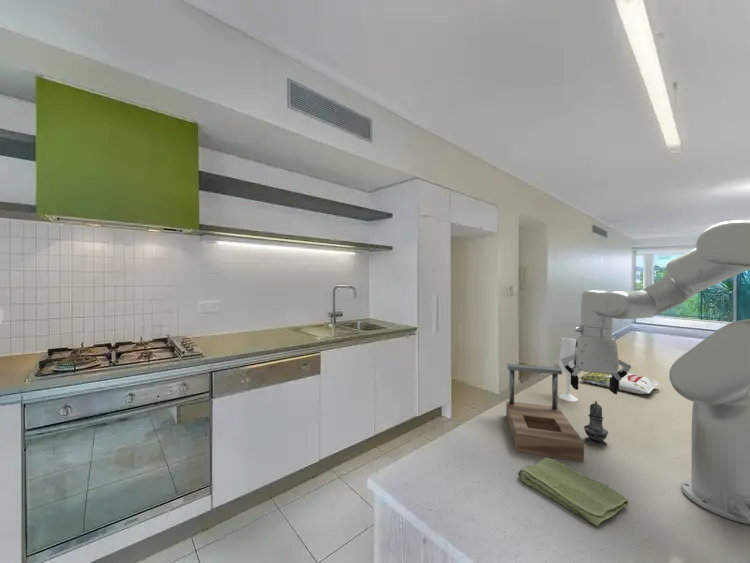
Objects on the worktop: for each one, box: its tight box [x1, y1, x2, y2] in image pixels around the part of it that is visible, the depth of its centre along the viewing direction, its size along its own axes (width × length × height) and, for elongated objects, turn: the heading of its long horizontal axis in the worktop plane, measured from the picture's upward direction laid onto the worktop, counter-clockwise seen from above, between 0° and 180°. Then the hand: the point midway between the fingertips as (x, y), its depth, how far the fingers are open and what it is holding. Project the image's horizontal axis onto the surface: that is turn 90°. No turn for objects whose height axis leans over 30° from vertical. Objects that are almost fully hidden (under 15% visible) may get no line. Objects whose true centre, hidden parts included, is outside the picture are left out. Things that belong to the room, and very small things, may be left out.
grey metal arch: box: [506, 362, 563, 410], centre depth 102 cm, size 4×16×13 cm, turn 73°
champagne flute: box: [558, 337, 579, 402], centre depth 124 cm, size 7×7×24 cm
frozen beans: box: [579, 372, 661, 395], centre depth 140 cm, size 21×6×25 cm
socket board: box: [505, 400, 585, 463], centre depth 93 cm, size 24×16×5 cm, turn 163°
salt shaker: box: [583, 400, 609, 448], centre depth 89 cm, size 6×6×12 cm
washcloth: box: [517, 457, 629, 527], centre depth 68 cm, size 13×18×3 cm
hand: (593, 390), depth 90 cm, fingers open, 9 cm apart
